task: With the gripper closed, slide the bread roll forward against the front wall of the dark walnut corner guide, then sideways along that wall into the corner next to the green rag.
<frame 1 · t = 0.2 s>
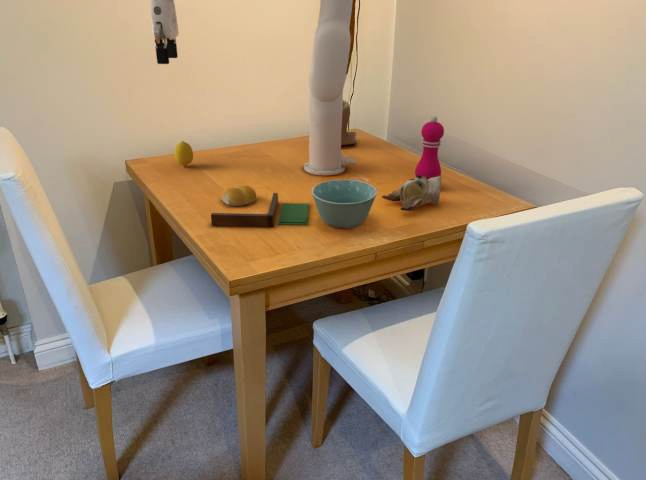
hand: (167, 60, 164), 31 cm above the table, tool pointing down, fingers open, 9 cm apart
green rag: (294, 214, 148), on the table
bread roll: (239, 202, 156), on the table
lemon: (185, 167, 180), on the table
corner guide: (246, 214, 148), on the table
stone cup: (336, 145, 199), on the table
pepper mill: (426, 188, 165), on the table
bowl: (342, 222, 144), on the table
ceramic sculpture: (414, 206, 153), on the table
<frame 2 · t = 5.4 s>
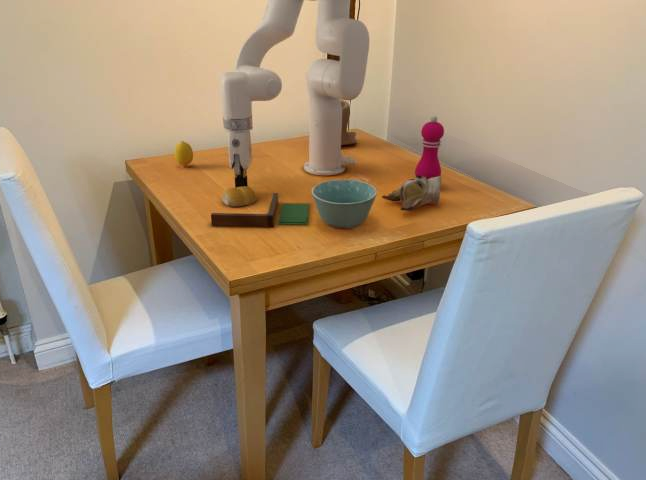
hand: (241, 189, 160), 1 cm above the table, tool pointing down, fingers closed
bread roll: (239, 202, 156), on the table, touching gripper
everything else where it was.
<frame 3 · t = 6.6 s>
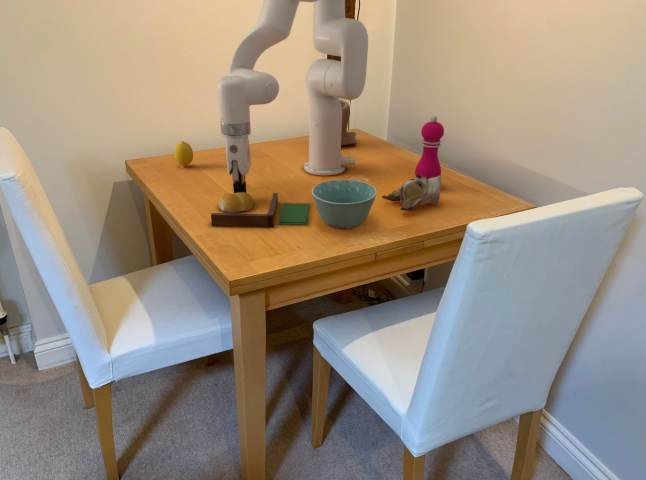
hand: (240, 195, 156), 1 cm above the table, tool pointing down, fingers closed
bread roll: (236, 208, 152), on the table, touching gripper
everything else where it was.
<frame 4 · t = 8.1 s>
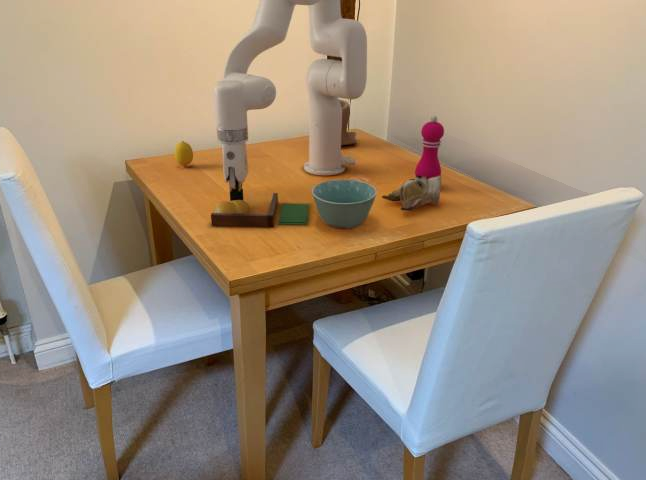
hand: (237, 203, 152), 1 cm above the table, tool pointing down, fingers closed
bread roll: (232, 216, 147), on the table, touching gripper
everything else where it was.
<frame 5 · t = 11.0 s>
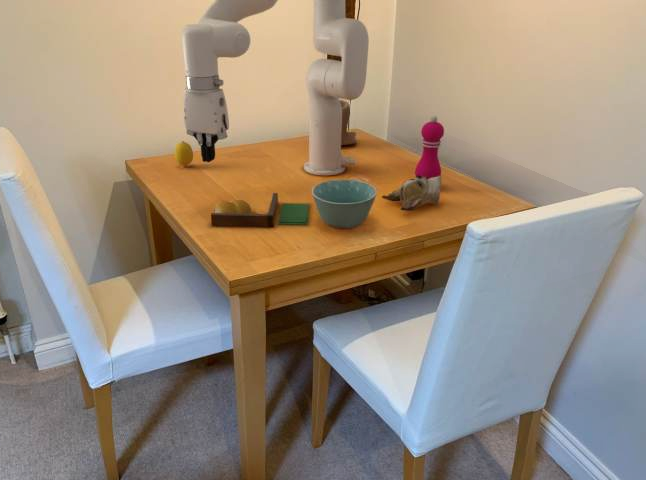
hand: (208, 160, 144), 13 cm above the table, tool pointing down, fingers closed
bread roll: (232, 216, 147), on the table
everything else where it was.
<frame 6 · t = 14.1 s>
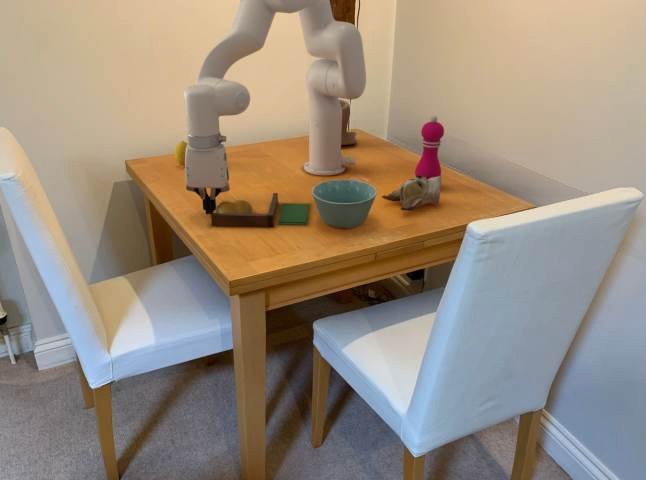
hand: (210, 212, 147), 1 cm above the table, tool pointing down, fingers closed
bread roll: (234, 216, 147), on the table, touching gripper
everything else where it was.
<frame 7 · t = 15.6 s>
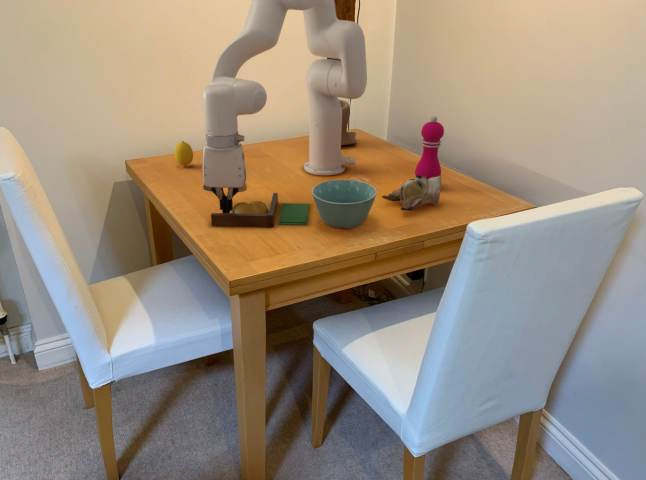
hand: (226, 212, 146), 1 cm above the table, tool pointing down, fingers closed
bread roll: (250, 217, 147), on the table, touching gripper
everything else where it was.
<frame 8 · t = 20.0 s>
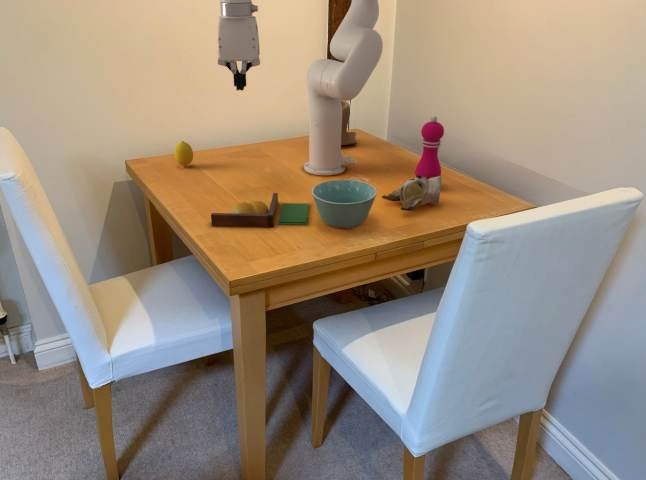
hand: (240, 89, 149), 27 cm above the table, tool pointing down, fingers closed
bread roll: (250, 217, 147), on the table
everything else where it was.
at the end: bread roll inside the target area (2.3 cm from its centre), on the table; bread roll inside the target area (2.7 cm from its centre), on the table; bread roll tilted 0° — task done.
